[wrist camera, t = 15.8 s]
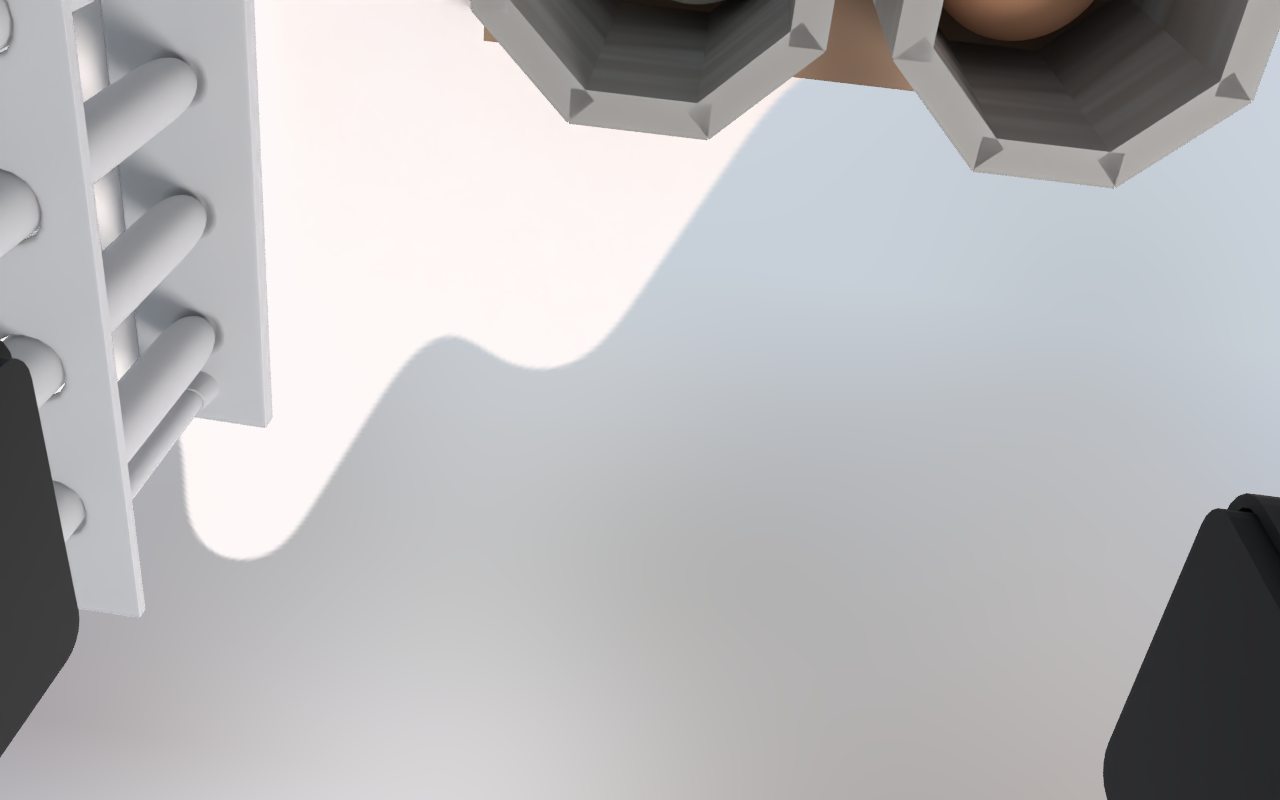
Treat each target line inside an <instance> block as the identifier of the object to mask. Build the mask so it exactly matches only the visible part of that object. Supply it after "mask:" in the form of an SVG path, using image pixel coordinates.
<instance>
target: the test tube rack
mask: <svg viewBox="0 0 1280 800" xmlns="http://www.w3.org/2000/svg"><path fill="white" fill-rule="evenodd" d="M94 1H96V0H0V49H2V48H4V47H6V46H8V45H9V47H8V49H7V50H5V51H3V52H1V53H0V339H1V338H4V337H6V336H8V337H7V338H6V339H5V340H4V341H3V342H4V344H5V345H6V347H7V348H8V349H9V351H10V353H11V356H12V358H15V359H19V360H21V361H23V362H24V363H25V364H26V365H27V367H28V368H29V370H30V374H31V377H32V381H33V386H34V391H35V396H36V401H37V406H38V411H39V416H40V421H41V426H42V431H43V436H44V441H45V446H46V451H47V456H48V461H49V466H50V471H51V476H52V481H53V486H54V491H55V496H56V501H57V506H58V511H59V516H60V521H61V526H62V531H63V536H64V541H65V546H66V551H67V556H68V561H69V566H70V571H71V576H72V581H73V586H74V591H75V596H76V601H77V606H78V609H84V610H91V611H98V612H105V613H111V614H117V615H124V616H131V617H138V618H140V617H141V615H142V614H143V612H144V610H145V602H144V593H143V586H142V577H141V569H140V560H139V553H138V544H137V536H136V528H135V520H134V512H133V504H132V500H133V498H134V497H135V496H136V494H137V493H138V492H139V490H140V489H141V488H142V486H143V485H144V484H145V482H146V481H147V480H148V478H149V477H150V476H151V474H152V473H153V472H154V470H155V469H156V468H157V466H158V465H159V464H160V462H161V461H162V459H163V458H164V457H165V455H166V454H167V453H168V451H169V450H170V449H171V447H172V446H173V445H174V443H175V442H176V441H177V439H178V438H179V437H180V435H181V434H182V433H183V431H184V430H185V429H186V427H187V426H188V425H189V423H190V422H191V421H192V419H193V418H194V417H197V418H204V419H210V420H217V421H223V422H230V423H236V424H243V425H250V426H256V427H263V428H265V427H266V426H267V425H268V423H269V422H270V420H271V419H272V393H271V372H270V351H269V329H268V306H267V284H266V261H265V239H264V216H263V194H262V171H261V149H260V126H259V104H258V81H257V59H256V36H255V14H254V0H100V3H101V12H102V21H103V30H104V39H105V48H106V57H107V66H108V75H109V84H110V86H108V87H107V88H105V89H104V90H102V91H101V92H99V93H98V94H96V95H95V96H93V97H92V98H90V99H89V100H87V101H86V102H84V103H83V97H82V89H81V81H80V73H79V64H78V56H77V48H76V40H75V32H74V24H73V16H72V12H74V11H76V10H78V9H80V8H82V7H84V6H86V5H88V4H90V3H92V2H94ZM117 165H118V166H119V175H120V184H121V193H122V202H123V211H124V220H125V229H126V231H125V232H123V233H122V234H121V235H120V236H119V237H118V238H117V239H116V240H115V241H114V242H112V243H111V244H110V245H109V246H108V247H107V248H106V249H105V250H104V251H102V252H101V243H100V235H99V227H98V219H97V211H96V203H95V195H94V187H93V184H95V183H96V182H97V181H98V180H100V179H101V178H102V177H103V176H105V175H106V174H107V173H108V172H110V171H111V170H112V169H114V168H115V167H116V166H117ZM39 227H40V228H39ZM38 228H39V230H38V232H37V234H36V235H34V236H31V237H29V238H27V239H25V238H26V237H27V236H29V235H30V234H31V233H32V232H34V231H35V230H36V229H38ZM133 311H135V320H136V329H137V338H138V348H139V357H140V358H139V359H138V360H137V361H136V362H135V363H134V364H133V366H132V367H131V368H130V369H129V370H128V371H127V372H126V373H125V375H124V376H123V377H122V378H121V379H120V380H119V381H118V382H117V374H116V366H115V357H114V349H113V341H112V333H113V332H114V330H115V329H116V328H117V327H118V326H119V325H120V324H121V323H122V322H123V321H124V320H125V319H126V318H127V317H128V316H129V315H130V314H131V313H132V312H133ZM64 383H65V385H64V387H63V388H62V390H61V392H58V393H56V394H54V393H55V392H56V391H57V390H58V389H59V388H60V387H61V386H62V385H63V384H64Z"/></svg>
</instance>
